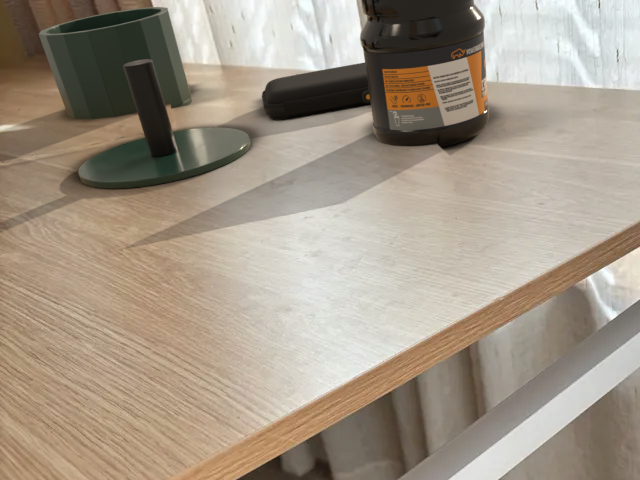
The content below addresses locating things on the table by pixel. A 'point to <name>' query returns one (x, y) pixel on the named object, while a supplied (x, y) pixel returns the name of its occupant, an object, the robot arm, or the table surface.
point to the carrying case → (316, 92)
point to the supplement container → (425, 70)
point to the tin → (113, 60)
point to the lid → (160, 143)
